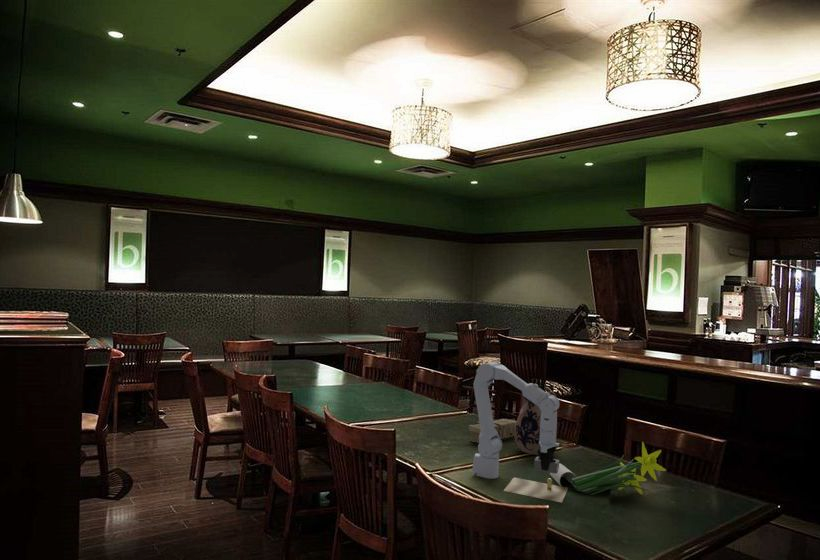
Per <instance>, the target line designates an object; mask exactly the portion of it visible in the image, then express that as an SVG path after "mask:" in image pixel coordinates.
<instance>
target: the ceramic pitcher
mask: <svg viewBox="0 0 820 560" xmlns="http://www.w3.org/2000/svg"><path fill="white" fill-rule="evenodd" d="M521 397H522V405H521V408H520V411H519V413H518V417H517V419H516V421H517V422H516V425H515V431H514V437H513V438H514V441H515V443H516V446H517V447H518V449H520V450H521V451H522V452H523V453H525V454H529V455H536V456H539V455H538V453H537V449H541V446H540V444H539V441H540V422H541V410H540V408H539V406H537V405H536V404H534V403H533V402H531V401H530V400H528V399H527V398H526V397H524V396H523V394H521Z"/></svg>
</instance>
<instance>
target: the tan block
mask: <svg viewBox="0 0 820 560" xmlns="http://www.w3.org/2000/svg"><path fill="white" fill-rule="evenodd" d="M493 421H494V427H495V429H496V431H497V432H498V435H499V438H500V439H502V438H506V437H510V435H511V436H514V431H515V425H516V422H517V420H513V419H511V418H510V419H506V418H500V419H495V420H493ZM468 425H469V427H468V431H470V437H469V438H470V440H469V442H471V441H473V442H472V443H474V442H477V443H479V435H480V432H481V429H480V423H477V424H468ZM510 438H511V437H510ZM477 443H476V444H477Z"/></svg>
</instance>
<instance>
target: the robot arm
mask: <svg viewBox="0 0 820 560" xmlns="http://www.w3.org/2000/svg"><path fill="white" fill-rule="evenodd" d="M475 372H476V374H475V378H474V380H473V383H472V384H473V392H474V398H475V403H476V408H477V409H476V410H477V415H478V421H479V424H480V429H481V432H480V435H479V444H478V445H477V450H478V452H479V453H477V452H476V453H475V454H474V456H473V461H472V462H473V463H472V475H471V476H472V477H474V476H477V477H481V478H485V479H491V480H492V479H497V478H499V469H500V468H499V467H500V451H501V450H502V448H503V440H501V439H500V438H499V435H498V432H497V431H496V429H495V427H494V421H495V420H494V415H493V411H492V404H491V399H490V394H489V393H490V392H489V391H490V390H489V387H490V385H491V384H492V383H493V382H494V381H495V380H497V381H498V380H501V381H505V382H507V383H509V385H512V386H513V387H515V389H516V388H517V389H518V390H520V391H521V392H522V395H523V396H524V397H526V398H527V399H528V400H530V401H531V402H533V403H534V404H536V405H537V406H539V408H540V410H541V422H540V441H539V444H540V446H541V449H537V453H538V455H537V456H538V457H540V462H541V468H542V470H546V471H548V469H549V464H550V460H551V459H554V456H555V453H556V450H557V449H558V447H559V446H560V443H558V442H557V427H558V409H559V408H560V400H559V398H558V397H557V396H556V395H553V394H550V393H549V392H548V391H547V392H546V391H544V390H543V389H542V388H541V387H539V385H538V384H537V383H533V382H530V383H527V382H526V381H524V380H523V379H522V378H520V377H518V376H519V375H516V374H515V373H513V372H512V371H511V370H510V369H508V367H506V366H505V365H503V364H501V363H500V362H499V361H490V362H484V363H481V364H480V365H479V367H478V368H477V369H476V371H475Z"/></svg>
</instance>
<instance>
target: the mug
mask: <svg viewBox="0 0 820 560" xmlns="http://www.w3.org/2000/svg"><path fill="white" fill-rule="evenodd" d="M549 474H550V476H551V478H552V479H553V480H554V481H555V482H556V483H557V484H558V486H561V487H563V486H562V484H561V478H565V479H566V481H568V482H569V483H570V484H571V483H573V481H572V480H571V479H573V478H576V477H577V476H576V474H575V473H573V472H572V471H571V470H570V469H568V468H567V467H566V465H564V464H562V463H561V462H559V471H558V472H557V474H555V473H550V472H549ZM574 486H575V485H573V487H574Z"/></svg>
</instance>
